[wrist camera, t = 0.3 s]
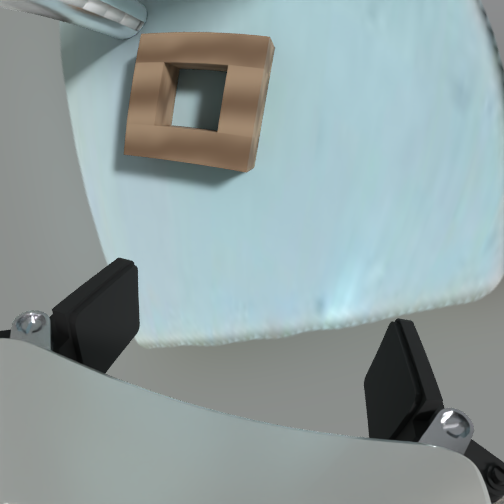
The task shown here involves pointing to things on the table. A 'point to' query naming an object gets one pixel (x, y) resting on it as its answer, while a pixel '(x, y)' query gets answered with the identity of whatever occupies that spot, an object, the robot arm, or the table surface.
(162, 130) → the socket block
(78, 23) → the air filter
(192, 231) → the table surface
